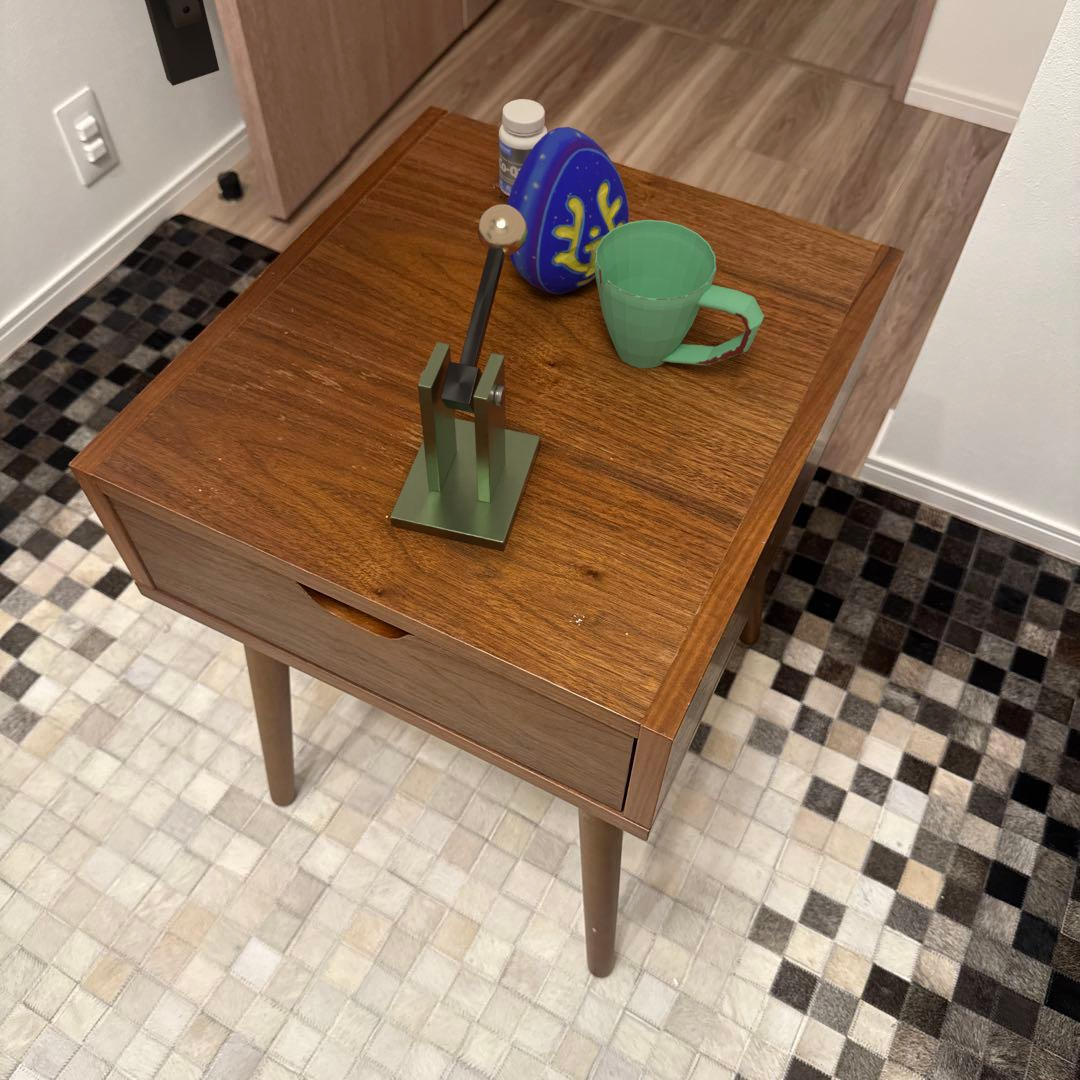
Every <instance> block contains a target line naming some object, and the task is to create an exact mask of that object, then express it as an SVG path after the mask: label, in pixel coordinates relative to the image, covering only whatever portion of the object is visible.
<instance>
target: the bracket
mask: <svg viewBox="0 0 1080 1080" xmlns="http://www.w3.org/2000/svg"><path fill="white" fill-rule="evenodd" d="M451 354H452V353H451V344H450V343H445V342H438V341H437V342H436V344H435V345H434V348H433V350H432V353H430V356H429V359H428V361H427V363H426V366H425V368H424V369H422V371H421V373H420V376H419V381H418V383H417V391H418V401H419V410H420V417H421V418H420V421H421V429H422V442H421V444H420V446H419V449H418V451H417V453H416V456H415V458H414V461H413V462H412V465H411V467H410V470H409V472H408V475H407V477H406V479H405V481H404V483H403V486H402V488H401V491H400V493H399V495H398V498H397V499H396V502H395V505H394V507H393V508H392V511H391V514H390V516H389V519H390V525H391V527H395V528H399V529H403V530H408V531H412V532H417V533H421V534H425V535H430V536H435V537H438V538H444V539H448V540H452V541H457V542H460V543H465V544H470V545H474V546H479V547H482V548H483V547H484V548H488V549H492V550H495V551H501V552H504V551H505V548H506V546H507V543H508V540H509V537H510V535H511V531H512V528H513V525H514V522H515V520H516V516H517V514H518V511H519V508H520V505H521V502H522V500H523V496H524V494H525V491H526V488H527V485H528V482H529V479H530V476H531V474H532V470H533V467H534V465H535V462H536V458H537V456H538V452H539V450H540V447H541V436H540V435H537V434H532V433H527V432H522V431H517V430H513V429H508V428H506V392H507V389H506V382H505V381H506V380H505V377H506V375H505V372H506V371H505V365H506V364H505V355H504V354H499V353H494V352H491V353H490V354H489V357H488V359H487V361H486V364H485V367H484V369H483V372H482V376H481V379H480V381H479V384H478V386H477V389H476V391H475V394H474V396H473V399H474V413H473V416H474V417H473V418H474V419H473V421H470V420H465V419H460V418H456V417H455V409H450V408H446V406H445V405H444V403H443V402H442V400H441V399H440V397H441V393H442V389H443V385H444V381H445V377H446V373H447V369H448V366H449V362H452V355H451Z"/></svg>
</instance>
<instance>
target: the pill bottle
mask: <svg viewBox="0 0 1080 1080" xmlns="http://www.w3.org/2000/svg"><path fill="white" fill-rule="evenodd" d="M501 121H502V124H501V125H500V127H499V129H498V184H499V185H498V186H499V189H500V190H501V192H502V193H503V194H504V195H505V196H508V197H509V196H510V193H511V190H512V187H513V184H514V182H515V180H516V177H517V175H518V173H519V171H520V169H521V167H522V165H523V163H524V161H525V160H526V158H527V156H528V154H529V153H530V151H531V150H532V148H533V147H534V146H535V144H536V143H537V142H538V141H539V140H540V139H541V138H542V137H543V136H544V135H545V134H547V133H548V132H549V131H548V129H547V127H546V125H545V124H546V123H545V122H546V111H545V108H544V107H543V105H542V104H541V103H539V102H537V101H536V100H532V99H526V98H525V99H524V98H519V99H514V100H512V101H508V102H507V103H506V104H505V105H504V106H503V108H502V119H501Z"/></svg>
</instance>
